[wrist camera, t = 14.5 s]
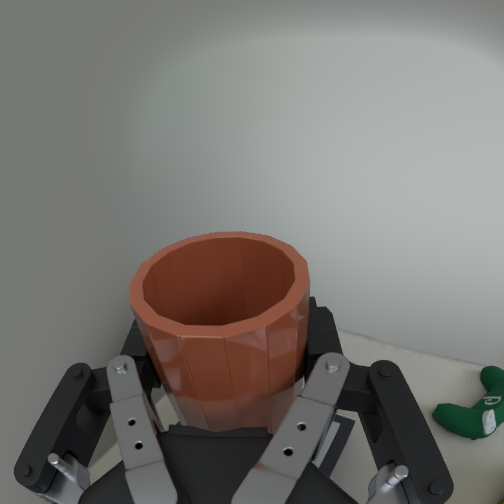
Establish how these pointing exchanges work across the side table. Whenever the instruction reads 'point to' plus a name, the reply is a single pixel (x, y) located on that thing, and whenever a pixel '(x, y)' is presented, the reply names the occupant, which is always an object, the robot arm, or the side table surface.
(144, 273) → the cup
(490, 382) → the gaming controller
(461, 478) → the side table surface
